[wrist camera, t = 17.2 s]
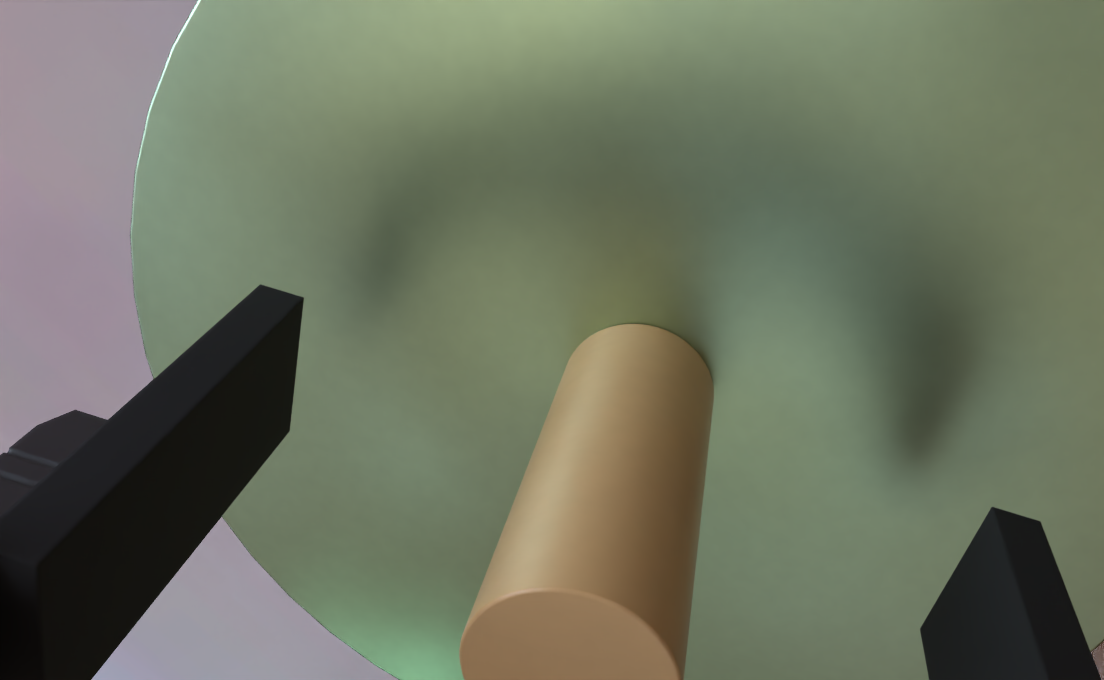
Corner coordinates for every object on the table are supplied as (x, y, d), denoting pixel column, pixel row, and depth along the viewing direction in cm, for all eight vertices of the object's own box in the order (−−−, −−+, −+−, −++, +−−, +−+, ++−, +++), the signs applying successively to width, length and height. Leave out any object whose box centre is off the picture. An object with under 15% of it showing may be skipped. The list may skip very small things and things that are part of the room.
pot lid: (1561, -45, 13) (2468, 108, 6) (938, 832, 23) (1010, 1271, 16) (176, -399, 15) (-393, -611, 8) (154, 574, 25) (-95, 876, 18)
